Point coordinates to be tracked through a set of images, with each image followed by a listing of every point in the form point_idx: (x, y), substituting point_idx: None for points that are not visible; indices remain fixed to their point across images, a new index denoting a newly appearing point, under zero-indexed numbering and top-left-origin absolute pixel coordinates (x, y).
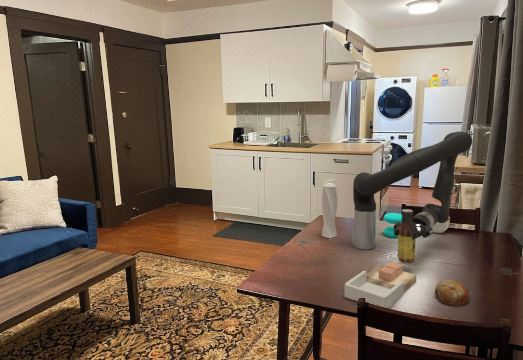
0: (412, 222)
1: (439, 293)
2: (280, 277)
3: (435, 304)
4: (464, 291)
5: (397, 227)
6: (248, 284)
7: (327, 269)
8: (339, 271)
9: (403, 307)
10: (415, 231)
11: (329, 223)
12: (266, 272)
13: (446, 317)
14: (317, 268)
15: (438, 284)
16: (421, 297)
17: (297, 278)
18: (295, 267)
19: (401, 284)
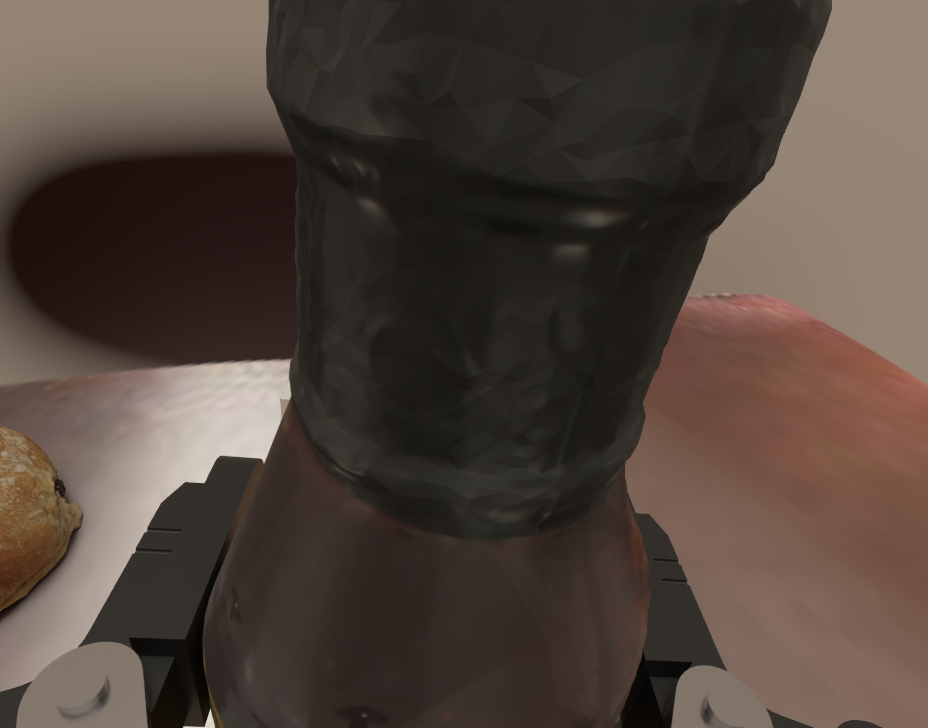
0: (286, 411)
1: (44, 453)
2: (802, 366)
3: (91, 451)
4: None
5: (740, 693)
6: (791, 309)
7: (799, 508)
8: (737, 521)
9: (260, 377)
10: (205, 615)
11: None
12: (877, 373)
13: (52, 384)
14: (838, 491)
15: (27, 474)
16: (174, 479)
17: (761, 383)
18: (896, 450)
19: (288, 380)
